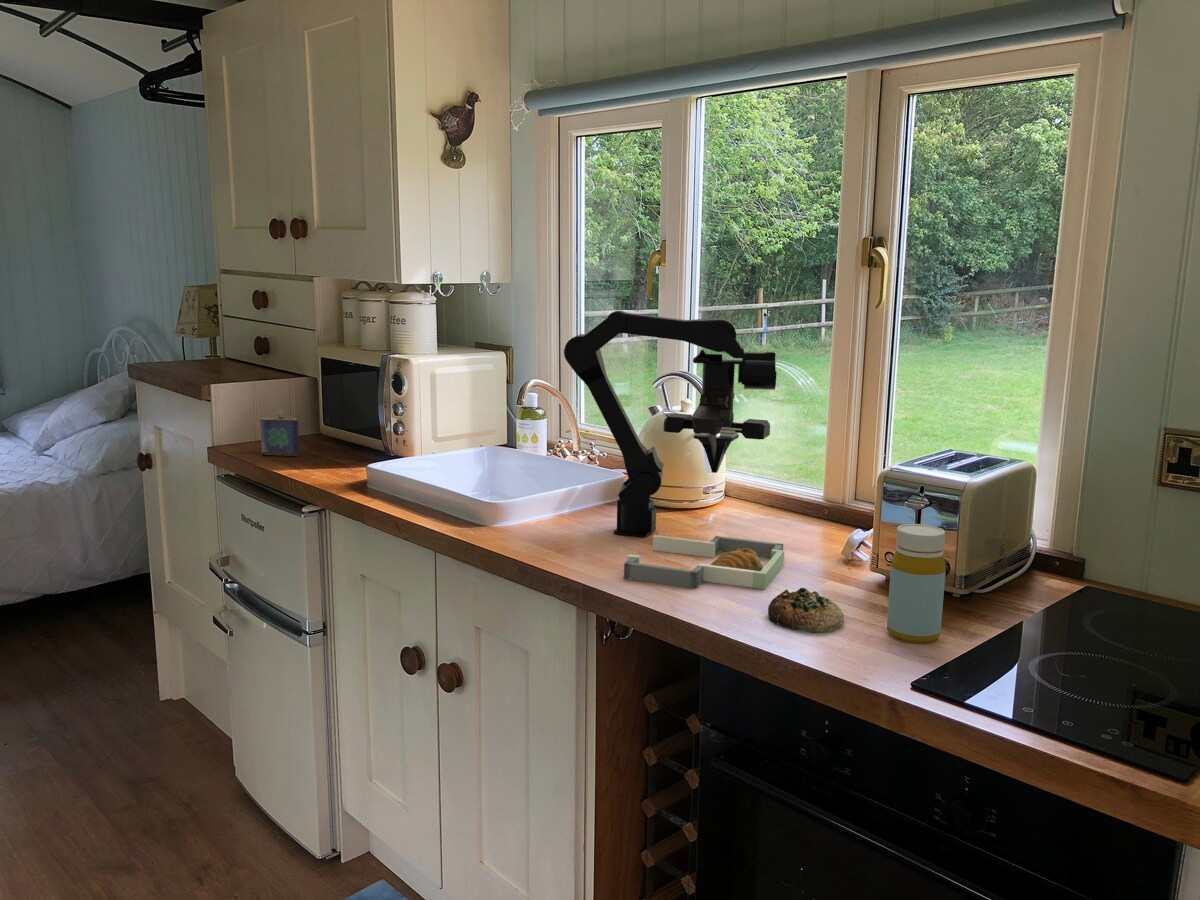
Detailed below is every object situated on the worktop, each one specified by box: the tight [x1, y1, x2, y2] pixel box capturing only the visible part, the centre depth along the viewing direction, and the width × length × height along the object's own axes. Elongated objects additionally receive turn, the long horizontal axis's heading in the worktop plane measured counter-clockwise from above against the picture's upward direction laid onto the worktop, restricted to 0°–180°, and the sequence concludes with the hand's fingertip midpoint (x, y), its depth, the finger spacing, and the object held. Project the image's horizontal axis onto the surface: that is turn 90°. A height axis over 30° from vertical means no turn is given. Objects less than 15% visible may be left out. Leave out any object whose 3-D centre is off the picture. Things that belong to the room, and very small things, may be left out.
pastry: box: [710, 548, 764, 571], centre depth 161 cm, size 9×7×4 cm
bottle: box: [886, 523, 947, 645], centre depth 134 cm, size 7×7×15 cm
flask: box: [259, 410, 301, 453], centre depth 253 cm, size 10×3×12 cm, turn 84°
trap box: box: [623, 534, 785, 590], centre depth 164 cm, size 23×22×2 cm
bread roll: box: [767, 587, 845, 633], centre depth 141 cm, size 11×11×5 cm
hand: (714, 472), depth 182 cm, fingers closed
